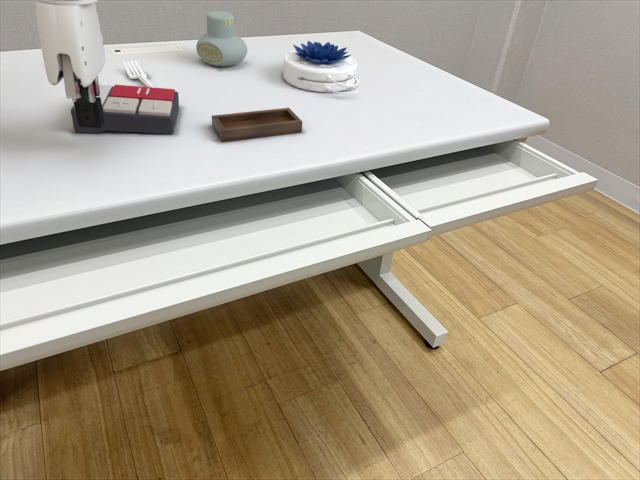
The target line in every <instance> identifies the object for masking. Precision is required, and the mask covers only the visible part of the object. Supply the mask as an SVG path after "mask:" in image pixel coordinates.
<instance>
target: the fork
mask: <svg viewBox="0 0 640 480" xmlns="http://www.w3.org/2000/svg"><path fill="white" fill-rule="evenodd" d="M126 62H127V63H126ZM134 63H135V64H134ZM134 63H133V61H132V60H130V62H129V61H123V64H124V68H125V71H126V74H127V76H128V78H129V79H130V80H135V79H137V80H140V81H141V83H143V84H144V85H145V87H152V88H156V86H154V84H153V82H151V81H150V80H149V79H148V75H147V74H146V73H145V71H143V69H142V68H141V66H140V65H139V64H138V62H137V60H134ZM136 67H137V68H136Z"/></svg>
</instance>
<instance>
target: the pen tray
mask: <svg viewBox="0 0 640 480" xmlns="http://www.w3.org/2000/svg"><path fill="white" fill-rule="evenodd" d="M211 127H212V129H213V131H214V132H215V134H216V135H217V137H218V138H219V140H220V142H221V143H228V142H235V141H236V142H237V141H243V140H252V139H260V138H266V137H274V136H284V135H290V134H292V135H293V134H298V133H302V132H303V120H302V119H301V118H300V117H299V116H298V115H296V113H295V112H294V111H293V110H292V109H291V108H290V107H282V108H273V109H263V110H254V111H253V110H252V111H244V112H234V113H225V114H215V115H211Z"/></svg>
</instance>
